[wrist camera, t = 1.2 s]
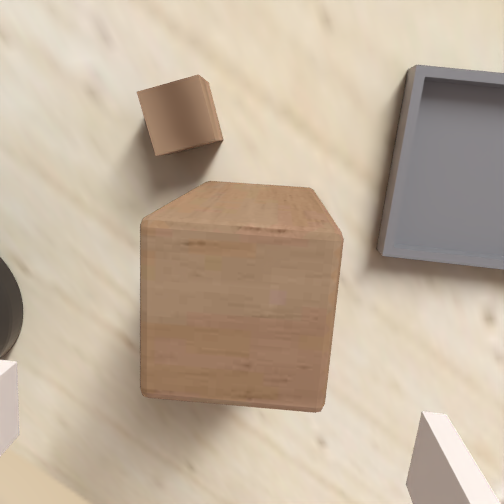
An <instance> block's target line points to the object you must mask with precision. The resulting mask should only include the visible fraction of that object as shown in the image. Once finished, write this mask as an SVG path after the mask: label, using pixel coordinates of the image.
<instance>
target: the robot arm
mask: <svg viewBox="0 0 504 504" xmlns="http://www.w3.org/2000/svg"><path fill="white" fill-rule="evenodd" d="M22 319H23V304H22V298H21V294H20V290H19V287H18V285H17V282H16V280H15V278H14V276H13V274H12V272H11V271H10V269H9V268H8V266H7V265H6V264H5V262H4V261H3V260H2V259H1V258H0V358H1V357H2V356H3V355H5V354H6V353H7V352H8V351H9V350H10V348H11V347H12V346H13V344H14V343H15V341H16V339H17V337H18V335H19V332H20V329H21V325H22ZM18 436H19V405H18V375H17V362H15V361H7V360H0V456H1V455H2V454H3V453H4V452H5V451H6V449H7V448H8V447H9V446H10V445H11V444H12V443H13V442H14V440H15V439H16V438H17V437H18ZM406 486H407V488H408V491H409V494H410V497H411V499H412V502H413V504H501V503H500V502H499V500H498V498H497V497H496V495H495V493H494V492H493V490H492V489H491V487H490V485H489V484H488V482H487V480H486V479H485V477H484V475H483V474H482V472H481V470H480V469H479V467H478V465H477V464H476V462H475V461H474V459H473V457H472V456H471V454H470V452H469V451H468V449H467V447H466V446H465V444H464V442H463V441H462V439H461V437H460V436H459V434H458V433H457V431H456V429H455V428H454V426H453V424H452V423H451V421H450V419H449V418H448V416H447V414H440V413H432V412H424V411H422V413H421V418H420V422H419V427H418V432H417V436H416V441H415V445H414V450H413V454H412V459H411V463H410V468H409V472H408V477H407V481H406Z"/></svg>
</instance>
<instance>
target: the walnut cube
mask: <svg viewBox="0 0 504 504" xmlns="http://www.w3.org/2000/svg"><path fill="white" fill-rule="evenodd" d="M137 94H138V98H139V101H140V105H141V108H142V111H143V115H144V118H145V122H146V125H147V128H148V132H149V135H150V139H151V142H152V145H153V149H154V152H155V156H160V155H167V154H172V153H176V152H180V151H184V150H188V149H191V148H195V147H199V146H203V145H207V144H211V143H214V142H218V141H222V140H223V137H222V133H221V129H220V125H219V121H218V117H217V113H216V109H215V106H214V102H213V98H212V94H211V90H210V86H209V82H207V81H206V80H205V79H203V78H202V77H201V76H200V75H195V76H192V77H188V78H184V79H181V80H177V81H174V82H170V83H167V84H163V85H160V86H156V87H153V88H149V89H145V90H142V91H138V92H137Z"/></svg>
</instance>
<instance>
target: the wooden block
mask: <svg viewBox="0 0 504 504" xmlns="http://www.w3.org/2000/svg"><path fill="white" fill-rule="evenodd" d="M343 240H344V239H343V236H342V233H341V231H340V229H339V228H338V226H337V225H336V223H335V222H334V220H333V219H332V217H331V216H330V214H329V213H328V211H327V210H326V208H325V207H324V205H323V204H322V202H321V201H320V199H319V198H318V196H317V195H316V193H315V192H314V190H313V189H311V188H305V187H290V186H276V185H261V184H246V183H231V182H217V181H208V182H205V183H203V184H202V185H200V186H198V187H196V188H195V189H193V190H191V191H189V192H188V193H186V194H184V195H182V196H181V197H179V198H177V199H176V200H174V201H172V202H170V203H169V204H167V205H165V206H163V207H162V208H160V209H158V210H156V211H155V212H153V213H151V214H149V215H148V216H146V217H144V218H143V220H142V222H141V224H140V388H141V392H142V395H143V396H145V397H148V398H159V399H170V400H181V401H192V402H203V403H214V404H226V405H237V406H248V407H259V408H270V409H281V410H292V411H304V412H315V413H316V412H320V411H321V410H322V408H323V406H324V404H325V398H326V389H327V380H328V371H329V363H330V354H331V345H332V336H333V328H334V319H335V310H336V302H337V293H338V284H339V275H340V267H341V258H342V249H343Z"/></svg>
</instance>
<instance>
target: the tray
mask: <svg viewBox="0 0 504 504" xmlns="http://www.w3.org/2000/svg"><path fill="white" fill-rule="evenodd" d="M376 249H377V250H378V251H379V253H380V254H381V255H382V256H388V257H397V258H406V259H415V260H424V261H433V262H442V263H450V264H459V265H468V266H477V267H486V268H495V269H504V73H496V72H486V71H476V70H465V69H455V68H445V67H435V66H425V65H415V66H413V67H412V68H410V69H408V72H407V78H406V83H405V89H404V95H403V100H402V106H401V112H400V117H399V123H398V129H397V135H396V140H395V146H394V152H393V157H392V163H391V169H390V174H389V180H388V186H387V192H386V197H385V203H384V209H383V214H382V220H381V226H380V231H379V237H378V243H377V248H376Z"/></svg>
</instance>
